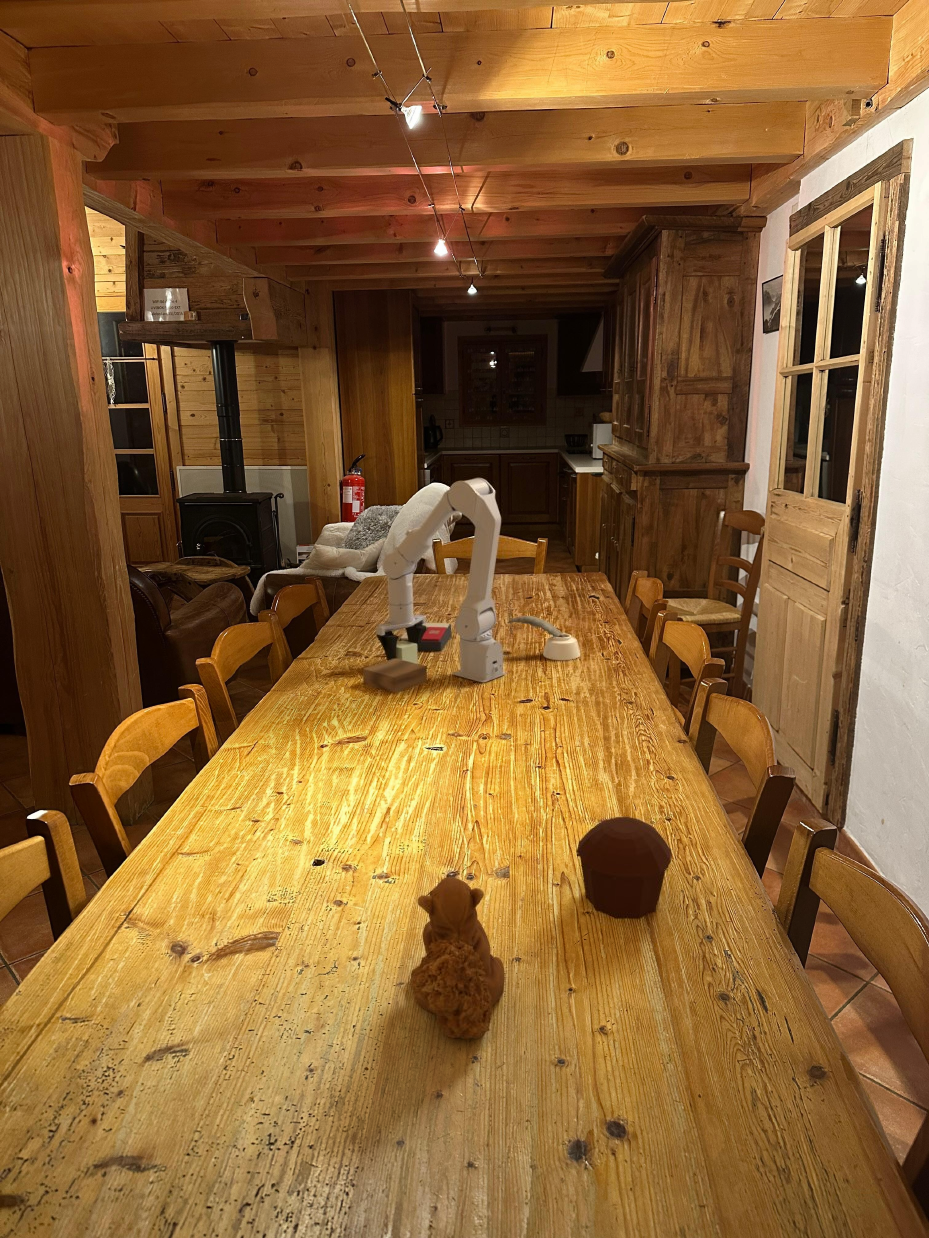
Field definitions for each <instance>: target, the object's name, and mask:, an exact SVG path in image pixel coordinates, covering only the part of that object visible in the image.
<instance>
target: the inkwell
mask: <svg viewBox="0 0 929 1238" xmlns="http://www.w3.org/2000/svg"><path fill="white" fill-rule="evenodd" d="M506 623H507V624H511V623H521V624H526V625H529V626H532V627H535V628H540V629H541V630H543V631H545V632H547V634H549V635H552V636H550V637H548V638H547V639H546V643H545V646H544V649H543V652H542V653H543V654H542V656H543V657H544V658H546V659H549V660H553V661H572V659H573V660H576V658H577V659H578V657H579V658H580V657H581V651H580V646H579V642H578V640H577V639H576V637H573V636H572V635H571V634H569V633H564V632H561V631H560V630H559V629H558V628H556V627H555V626H554V625H553V624H551V623H550V622H549V621H546V620H544V619H541V618H540V617H535V616H531V615H522V616H517V617H514V618H511V619H510V620H508V621H507V622H506Z"/></svg>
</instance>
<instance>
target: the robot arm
mask: <svg viewBox="0 0 929 1238" xmlns="http://www.w3.org/2000/svg"><path fill="white" fill-rule="evenodd" d="M458 512H459V513H461V514H462V516H465V517H467V519H469V520H470V522H471V523H472V524H473V525H474V527H475V529H474V538H473V542H472V543H473V544H472V552H471V559H470V567H469V574H468V575H469V576H468V583H467V591H466V596H465V597H464V599H463V601H462V602H461V605H460V609H459V612H458V614H457V616H456V617H455V619H454V629H455V632H456V633H457V635H458V636H459V645H460V647H459V648H460V649H459V653H460V655H459V656H460V657H459V658H460V669H459V670H456V671H454V672H452V675H453V676H457V677H460V678H463V679H468V680H472V681H476V682H479V683H486V682H489V681H491V680H496V679H497V678H499V677H503V676H504V675H506V672H505V671H504V649H503V646H502V643H501V642H499V641H498V640H495V639H494V638H493V632H492V631H493V630H492V629H493V628H494V627H495V626H496V624H497V614H496V610H495V608H496V607H495V606H496V602H495V600H494V599H493V598H492V591H493V584H494V583H493V581H494V575H495V568H496V561H497V554H498V547H499V546H498V545H499V539H500V532H501V525H502V516H501V514H500V511H499V507H498V504H497V501H496V490H495V489H494V488H493V486H492V485H491V484H490V483H489V482H488V480H486V479H484V478H482V477H475V478H472V479H468V480H467V479H466V480H458V481H455V482H453V483H452V484H451V485H450V487H449V488H448V490H446V491H445V492H444V493H443V495H442V497H441V499H440V500H439V501H438V503H437V504H436V505H435V507H434V508H433V510H432V511H431V513H429V514H428V517H427V518H426V519H425V521H424V522H423V523H422V525H421V526H420V527H413V528H412V529H408V530H407V531H406V532H405V535H406V536H405V538H404V539H403V540H402V541H401V542H400V544H397V545H395V547H394V552H392V553H391V552H390V553H387V554H386V555H385V557H384V559H383V561H382V570H383V573H384V574H385V576H387V595H388V597H387V598H388V617H389V618H387V621H385V622H383V623H382V624H379V625H376V626H375V634H376V637H377V639H378V640H379V642H380V644H381V646H382V648H383V650H384V654H385V657H386V661H388V660H391V659H394V658H396V645H397V642H398V641H399V638H400V636H399V635H396V634H394V632H396V631H400V630H405V631H406V632H407V636H408V642H411V643H416V644H417V656H419V652H420V651H419V647H420V643H421V640H422V637H423V635H424V633H425V631H426V626H424V625H422V624H426V623H427V615H425V614H417V615H414V592H413V579H414V573H415V571H416V569H417V567H418V562H420V560H421V559H422V558H423V556H424V555H425V554H426V553H427V552H428V550H429V549H430V548H431V546H433V536H434V535H436V533H437V532H438V531H439V530H440V529H441V528H442V527H443V525H444V524H446V522H447V521H448V520H449V519H450V518H451V517H452V516H453V515H454V514H455V513H458Z"/></svg>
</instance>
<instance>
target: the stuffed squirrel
mask: <svg viewBox="0 0 929 1238" xmlns="http://www.w3.org/2000/svg"><path fill="white" fill-rule="evenodd" d="M484 896H485V893H484V890H482V889H481V888H477V887H474V888H472V887H471V886H470V885H469V884H468V883H467V882H466V881H464V880H462V879H460V878H457V877H454V876H447V877H444V878H443V879H440V881H439V883H437V885H436V886H435V887H433V888H432V890H431V891H429V892H428V893H427V894H426V895H419V897H418V898H417V905H418V906H419V907H420V908H421V909H422V910H424V911H425V912H426V913H427V914H428V918H429V921H427V923H426V924H425V925H424V926H423V931H422V942H423V946H424V951H425V954H426V955H424V956H423V957H421V961H420V963H419V965H418V966H416V967H415V968H413V969H412V970H411V973H410V979H409V981H408V984H410V986H411V988H412V993H413V994H412V995H411V998H414V1000H415V1003H416V1004H417V1005H419V1006H420V1007H421V1008H422V1009H424V1010H426V1011H427V1012H430V1013H432V1014H433V1015H436V1020H437V1027H438V1028H437V1029H439V1030H443V1032H444V1034H443V1036H446V1037H448V1038H451V1039H455V1038H460V1039H462V1040H463V1039H466V1040H470V1039H479V1038H482V1037H484V1036H485V1034H486V1032H488V1031H489V1032H490V1031H491V1029H490V1024H491V1021H492V1007H493V1006H494V1005H495V1003H496V1002H497V1001H498V1000H499V999H500V998H501V997H502V995H503V994H504V991H505V980H506V977H505V976H506V974H505V968H504V963H503V961H502V959H501V958H500V957H498V956H494V955H493V954H491V945H490V941H489V938H488V935H487V933H486V931H485V929H484V927H483V925H482V923H481V921H480V919H478V911H477V906H478V905H480V903H481V901H482V899H483V898H484Z"/></svg>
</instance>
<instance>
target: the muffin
mask: <svg viewBox="0 0 929 1238" xmlns="http://www.w3.org/2000/svg"><path fill="white" fill-rule="evenodd" d="M576 854H577V855H578V857H579V858H580V859H579V860H580V867H581V873H582V878H583V884H584V891H585V898H586V899H587V901H588V902H589V903H590V904H591V906H592V907H593V909H594V911H596V912H599V913H602V914H604V915H606V916H608V917H611V918H613V919H615V920H616V919H620V920H621V919H629V920H640V919H641V918H643V917H645V916H647V915H650V914H653V913H655V912H656V911H657V907H658V903H659V900H660V897H661V892H662V888H663V884H664V878H665V875H666V870H667V868H668V867H669V865H670V864H671V862H672V849H671V848H670V847H669V845H668V843H667V842H666V840H665V839H664V837H663V836H662V835H661V834H660V832H659V831H658V830H657V829H656V828H655V827H654V826H653V825H651V824H649V823H647V822H644V821H643V820H641V819H638V818H636V817H630V816H615V817H612V818H609V819H606V820H602V821H601V822H598V823H597V824H595V826H593V827H592V828H591V829H589V831H587V833H585V835H583V837H582V838H581V839H580V840H579V841H578V844H577V848H576Z"/></svg>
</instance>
